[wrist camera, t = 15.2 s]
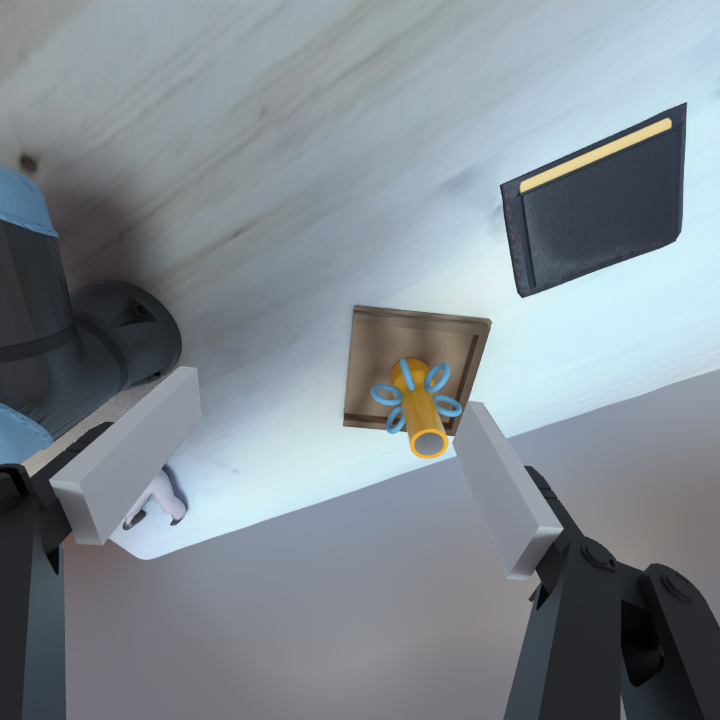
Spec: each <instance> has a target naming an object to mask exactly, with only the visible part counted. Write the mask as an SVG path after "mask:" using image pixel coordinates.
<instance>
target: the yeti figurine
mask: <svg viewBox="0 0 720 720" xmlns="http://www.w3.org/2000/svg"><path fill="white" fill-rule="evenodd" d="M152 493H153V494H154V496H155V497H156V499H157V500H158V502H159V503H160V505H161V508H162V510H163V511H164V512H166V513H168V514H171V515H172V518H173V521H172V522H171V524H170V525H171V526H173V525H176V524H178V523H179V522H180V521H181V520H182V519H183V517H184V516H185V513H186V508H185V505H184V504H183V502H182V501H180V500H179V499H178V498H176V497H175V496H174V494H173V490H172V486H171V483H170V481H169V478H168V476H167V474H166V473H165V472H164V471H163V470H162V469H161V470H160V471H159V473H158V474H157V475H156V476H155V478H154V479H153V480H152V482H151V483H150V484H149V486H148V487H147V488H146V490H145V491H144V492H143V493H142V495H141V496H140V497H139V499H138V500H137V501H136V503H135V504H134V505H133V507H132V508H131V509H130V510H129V512H128V513H127V514H126V516H125V517H126V521H125V522H124V524H123V529H124V530H129V529H130V528H132V527H133V526H135V525H136V524H137V523H139V522H140V521H141V520H142V519H143V518H144V517H145V516H146V515H145V514H146V513H144V511H142V510H141V508H142V507H143V505H144V504H145V502H146V501H147V499H148V498H149V496H150V495H151V494H152Z"/></svg>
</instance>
